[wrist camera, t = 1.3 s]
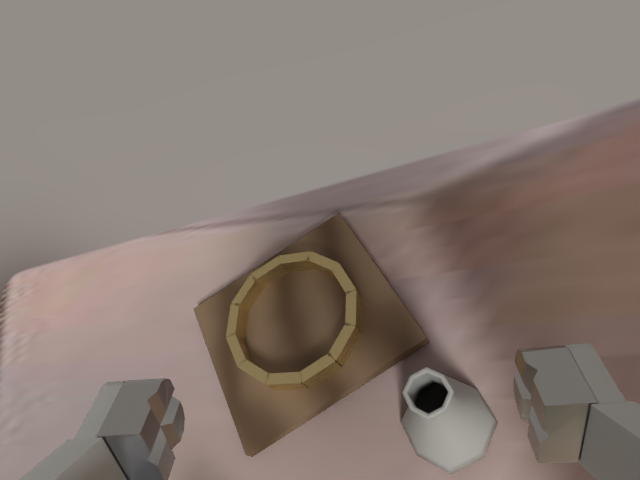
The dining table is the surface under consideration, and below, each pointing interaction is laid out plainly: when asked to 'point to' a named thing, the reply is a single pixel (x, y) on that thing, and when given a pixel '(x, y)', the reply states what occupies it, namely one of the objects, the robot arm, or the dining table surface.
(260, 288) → the wooden ring
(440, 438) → the flask
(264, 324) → the walnut board
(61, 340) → the dining table surface
